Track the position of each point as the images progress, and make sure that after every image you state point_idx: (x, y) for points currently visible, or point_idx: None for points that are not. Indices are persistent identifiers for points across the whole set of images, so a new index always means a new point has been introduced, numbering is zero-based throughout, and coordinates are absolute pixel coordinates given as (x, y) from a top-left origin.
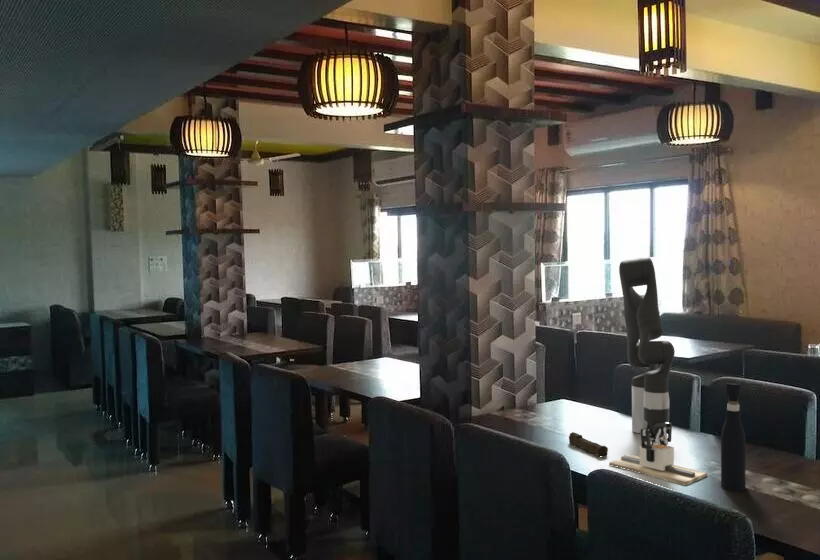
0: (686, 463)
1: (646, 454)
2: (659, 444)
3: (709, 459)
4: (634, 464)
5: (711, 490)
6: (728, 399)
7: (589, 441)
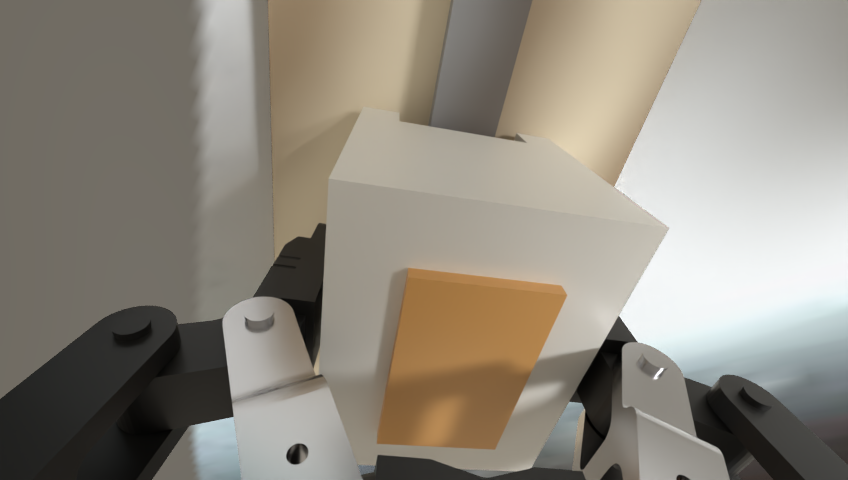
0: (698, 302)
1: (271, 268)
2: (575, 358)
3: (822, 363)
4: (400, 25)
5: None
6: None
7: None
